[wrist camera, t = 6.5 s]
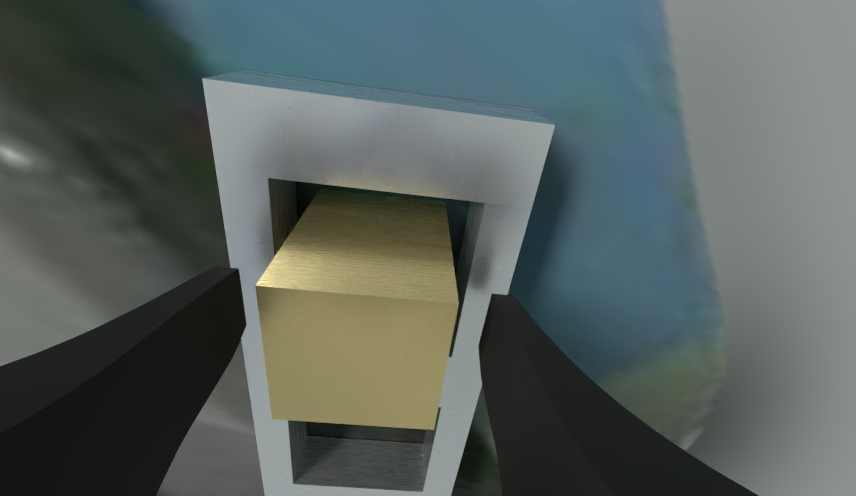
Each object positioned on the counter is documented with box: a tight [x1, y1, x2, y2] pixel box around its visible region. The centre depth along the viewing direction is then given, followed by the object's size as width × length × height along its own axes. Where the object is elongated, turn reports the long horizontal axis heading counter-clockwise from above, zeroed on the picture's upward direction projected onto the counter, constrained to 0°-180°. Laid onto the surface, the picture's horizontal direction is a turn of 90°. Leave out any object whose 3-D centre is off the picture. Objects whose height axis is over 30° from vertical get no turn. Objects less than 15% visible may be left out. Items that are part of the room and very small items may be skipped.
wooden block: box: [255, 189, 459, 430], centre depth 12 cm, size 4×4×6 cm
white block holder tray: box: [202, 70, 555, 496], centre depth 16 cm, size 20×9×2 cm, turn 173°
